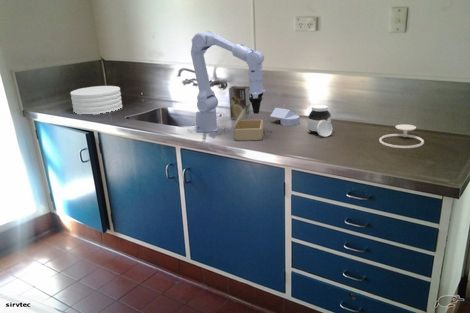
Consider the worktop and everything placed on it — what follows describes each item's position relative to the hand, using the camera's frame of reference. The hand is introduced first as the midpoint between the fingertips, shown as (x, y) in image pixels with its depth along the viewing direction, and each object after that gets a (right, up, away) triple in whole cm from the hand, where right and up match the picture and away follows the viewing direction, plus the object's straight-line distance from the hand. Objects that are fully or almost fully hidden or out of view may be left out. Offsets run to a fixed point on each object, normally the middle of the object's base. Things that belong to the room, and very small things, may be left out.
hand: (256, 111), depth 191 cm
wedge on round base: (+15, -4, +19) cm, 25 cm away
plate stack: (-91, +8, +69) cm, 114 cm away
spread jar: (+28, -10, 0) cm, 30 cm away
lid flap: (-8, -3, 0) cm, 8 cm away
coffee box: (-6, -1, +31) cm, 32 cm away
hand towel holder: (+58, -14, -15) cm, 61 cm away
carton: (-3, -10, +2) cm, 11 cm away
